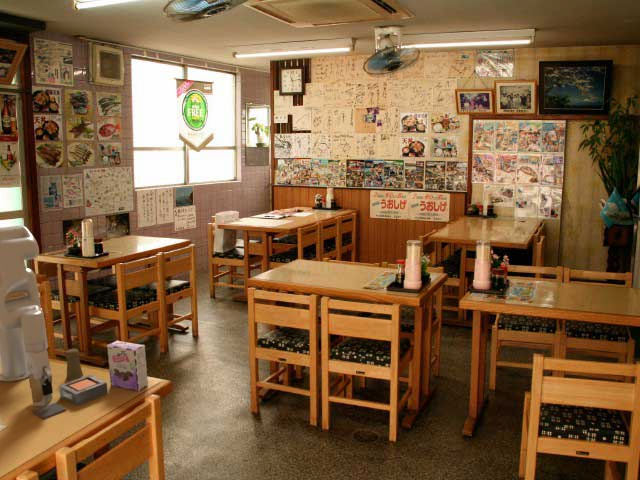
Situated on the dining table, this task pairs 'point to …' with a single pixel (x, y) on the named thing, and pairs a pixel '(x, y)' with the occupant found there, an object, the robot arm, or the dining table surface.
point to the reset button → (82, 385)
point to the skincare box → (38, 392)
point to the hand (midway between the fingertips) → (41, 390)
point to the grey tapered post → (73, 364)
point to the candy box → (127, 365)
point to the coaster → (49, 410)
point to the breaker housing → (83, 391)
